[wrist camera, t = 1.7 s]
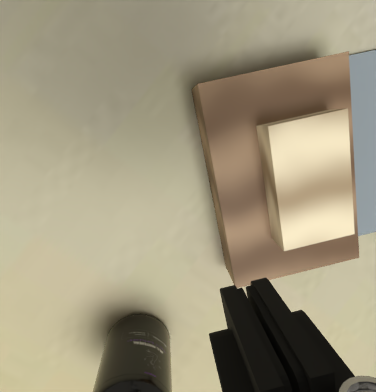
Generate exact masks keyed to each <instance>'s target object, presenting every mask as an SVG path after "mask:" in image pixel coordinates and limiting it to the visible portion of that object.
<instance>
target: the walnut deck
mask: <svg viewBox="0 0 376 392" xmlns="http://www.w3.org/2000/svg"><path fill="white" fill-rule="evenodd" d="M192 94H193V100H194V105H195V110H196V115H197V120H198V125H199V131H200V136H201V141H202V146H203V151H204V156H205V161H206V167H207V172H208V177H209V182H210V187H211V192H212V197H213V203H214V208H215V213H216V218H217V223H218V228H219V233H220V239H221V244H222V249H223V254H224V259H225V264H226V268H227V270H228V272H229V274H230V276H231V279H232V281H233V283H234V285H235V286H236V288H239V287H243V286H247V285H251V281H253V280H257V279H261V278H265V277H266V278H267V279H268V280H271V279H275V278H279V277H283V276H287V275H291V274H295V273H299V272H303V271H307V270H311V269H315V268H319V267H323V266H327V265H331V264H335V263H339V262H343V261H347V260H351V259H355V258H359V245H358V225H357V205H356V185H355V166H354V146H353V126H352V106H351V87H350V67H349V51H348V52H344V53H339V54H334V55H330V56H325V57H320V58H316V59H311V60H306V61H302V62H297V63H292V64H288V65H283V66H278V67H274V68H269V69H264V70H260V71H255V72H250V73H245V74H241V75H236V76H231V77H227V78H222V79H217V80H213V81H208V82H203V83H199V84H197V85H196V86H195V87H194V88H193V89H192ZM334 109H348V119H349V138H350V156H351V175H352V193H353V212H354V230H355V234H353V235H349V236H345V237H340V238H336V239H332V240H328V241H324V242H320V243H316V244H312V245H308V246H304V247H300V248H296V249H291V250H287V251H283V249H282V248H281V247H280V246H279V245H278V244H277V243H276V242H275V241H274V240H273V239H272V234H271V227H270V220H269V213H268V206H267V198H266V191H265V184H264V177H263V170H262V163H261V156H260V149H259V141H258V134H257V127H256V126H258V125H262V124H267V123H271V122H276V121H280V120H285V119H289V118H294V117H298V116H303V115H307V114H312V113H316V112H321V111H325V110H334Z"/></svg>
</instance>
